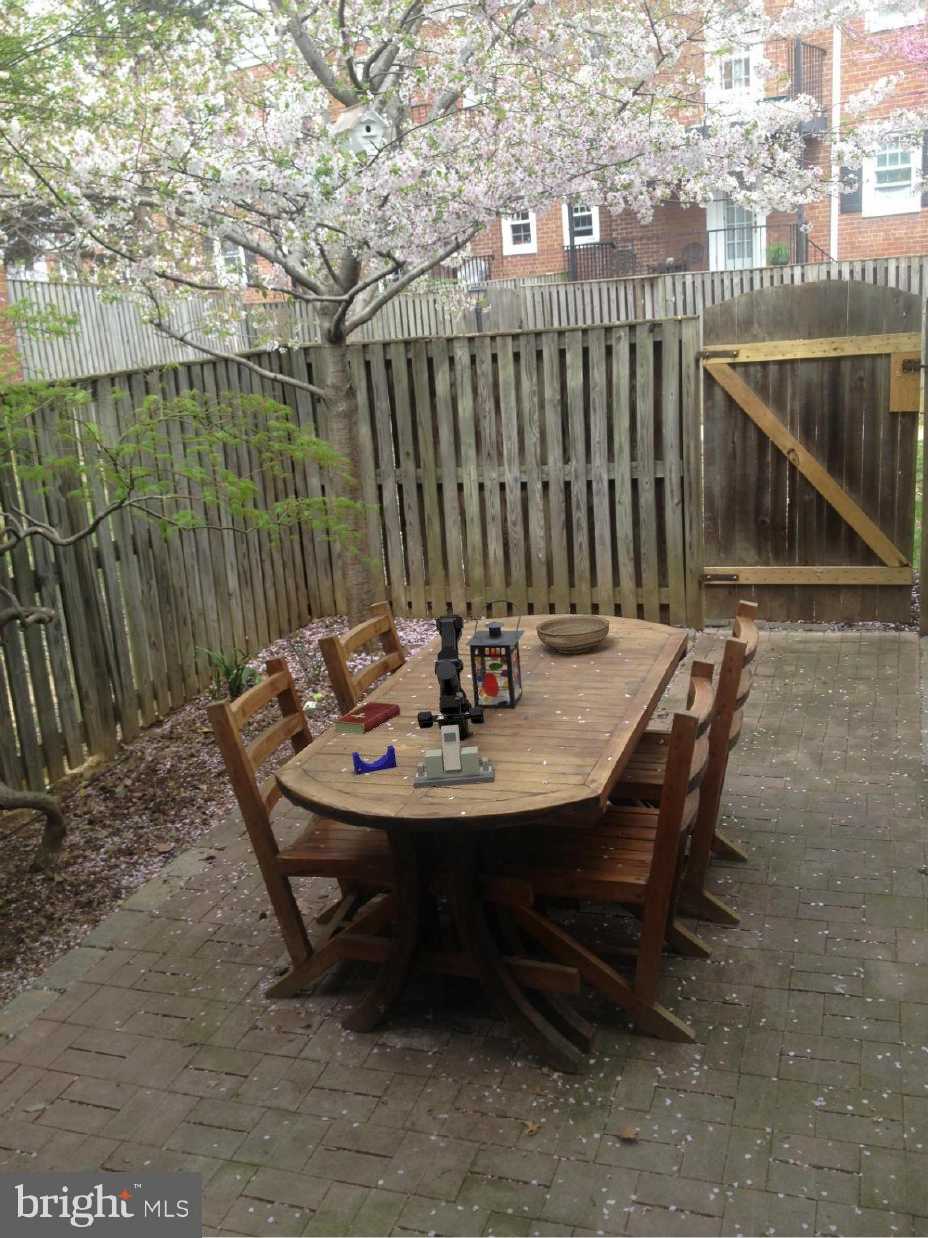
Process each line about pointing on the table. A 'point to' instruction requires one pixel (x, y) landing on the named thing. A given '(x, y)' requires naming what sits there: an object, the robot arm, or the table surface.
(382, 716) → the hardcover book
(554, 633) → the ceramic bowl
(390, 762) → the blue cradle stand
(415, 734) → the table surface
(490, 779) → the rail board
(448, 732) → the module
